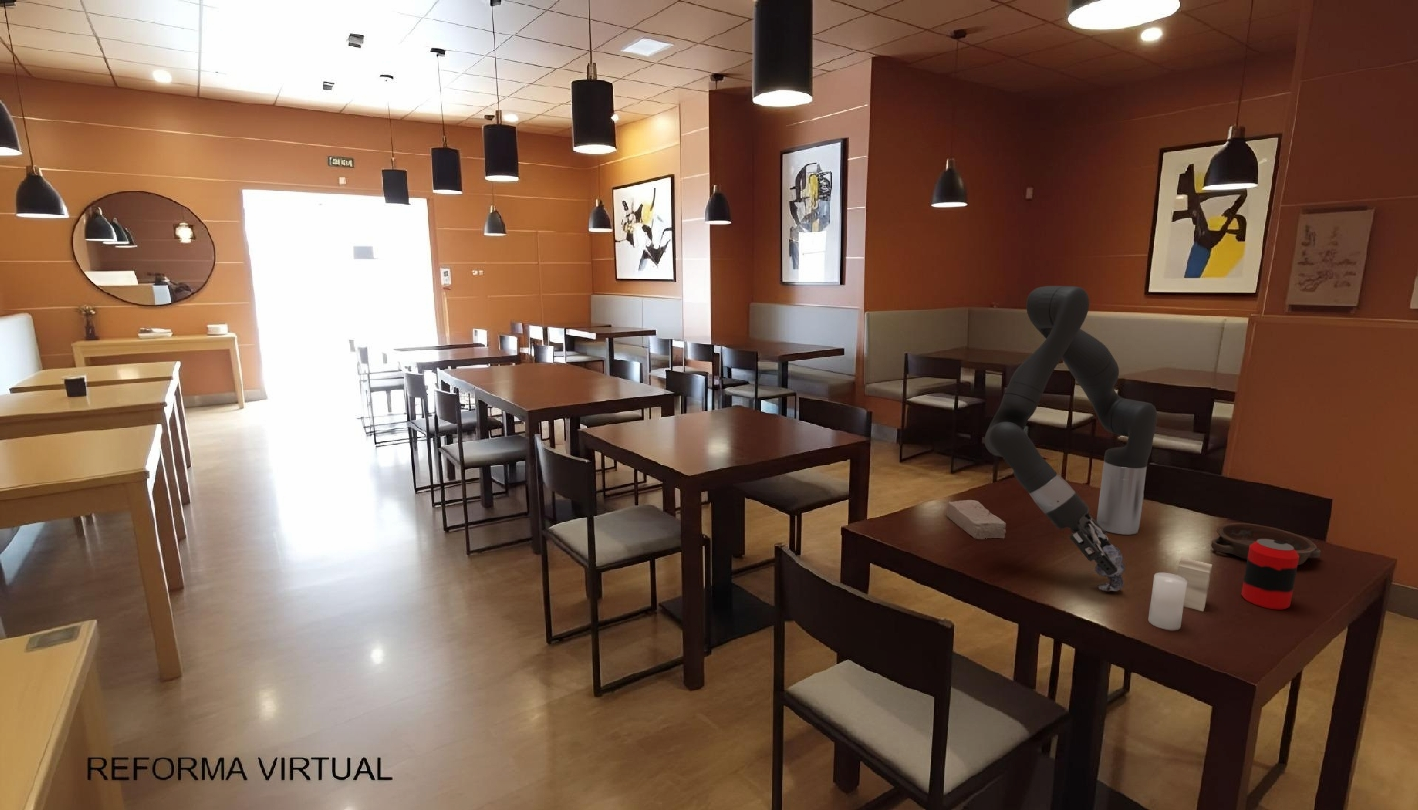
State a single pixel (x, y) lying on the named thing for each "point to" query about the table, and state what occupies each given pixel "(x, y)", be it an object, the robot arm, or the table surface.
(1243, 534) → the dish
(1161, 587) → the ceramic cylinder
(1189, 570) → the birch block
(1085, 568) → the table surface
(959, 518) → the brick
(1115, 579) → the fossil stone
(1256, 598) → the soda can
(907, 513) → the table surface
